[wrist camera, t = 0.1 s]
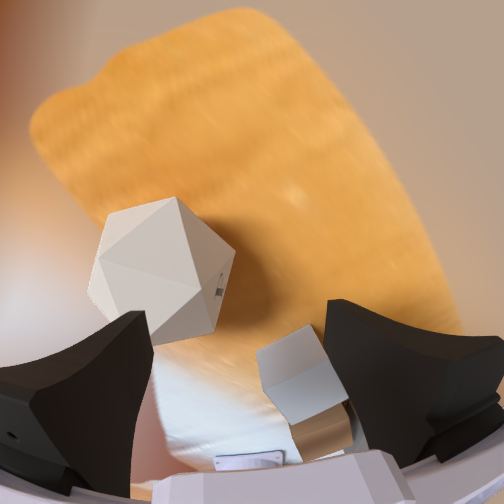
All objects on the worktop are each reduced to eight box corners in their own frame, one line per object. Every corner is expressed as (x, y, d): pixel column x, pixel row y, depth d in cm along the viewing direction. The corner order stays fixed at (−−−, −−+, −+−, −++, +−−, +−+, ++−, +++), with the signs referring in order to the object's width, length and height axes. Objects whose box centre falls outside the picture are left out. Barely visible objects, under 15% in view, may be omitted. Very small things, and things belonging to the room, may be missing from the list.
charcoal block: (371, 423, 28) (387, 452, 23) (334, 429, 28) (348, 461, 23) (386, 394, 27) (406, 423, 22) (348, 399, 26) (365, 433, 21)
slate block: (329, 361, 24) (348, 398, 20) (280, 386, 25) (291, 425, 20) (309, 322, 23) (328, 358, 18) (255, 350, 23) (262, 390, 18)
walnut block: (338, 411, 27) (353, 444, 22) (293, 427, 27) (303, 462, 22) (331, 382, 25) (348, 418, 20) (282, 399, 25) (292, 438, 20)
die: (168, 325, 22) (246, 373, 15) (65, 304, 17) (92, 364, 10) (194, 228, 23) (284, 232, 16) (97, 190, 18) (144, 165, 11)
